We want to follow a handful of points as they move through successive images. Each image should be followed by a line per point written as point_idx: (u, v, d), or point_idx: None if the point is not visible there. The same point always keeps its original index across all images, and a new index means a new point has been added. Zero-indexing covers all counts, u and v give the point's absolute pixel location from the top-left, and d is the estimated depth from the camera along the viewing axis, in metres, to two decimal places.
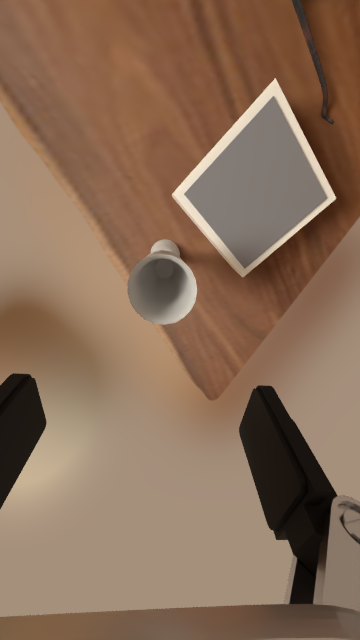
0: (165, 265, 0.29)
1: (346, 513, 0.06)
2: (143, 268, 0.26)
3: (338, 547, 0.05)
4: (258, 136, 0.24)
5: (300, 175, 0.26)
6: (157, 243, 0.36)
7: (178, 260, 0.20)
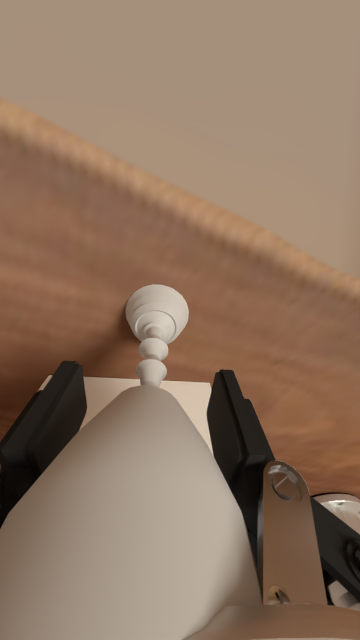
0: None
1: (275, 476, 0.06)
2: None
3: (261, 500, 0.06)
4: None
5: None
6: (184, 323, 0.17)
7: None
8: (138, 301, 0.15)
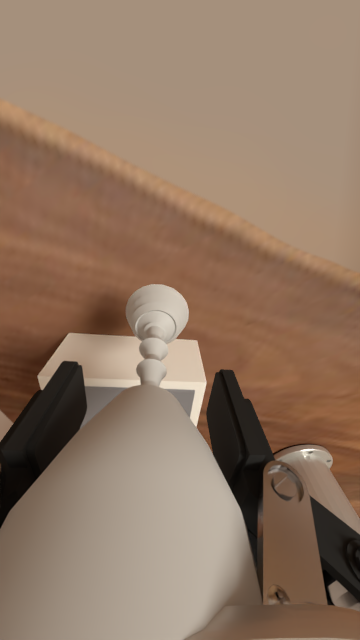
0: None
1: (275, 476, 0.06)
2: None
3: (261, 500, 0.06)
4: None
5: None
6: (184, 323, 0.17)
7: None
8: (138, 301, 0.15)
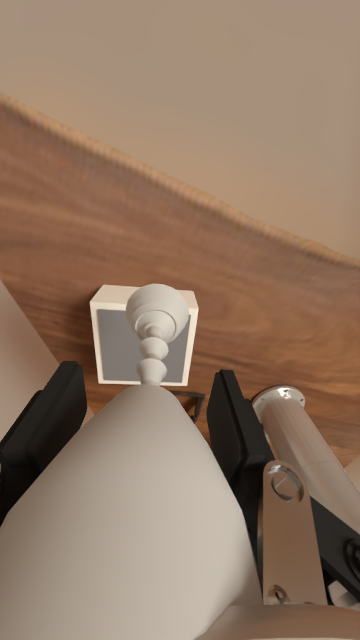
0: None
1: (275, 476, 0.06)
2: None
3: (261, 500, 0.06)
4: (173, 368, 0.35)
5: (132, 374, 0.35)
6: (184, 323, 0.17)
7: None
8: (138, 300, 0.15)
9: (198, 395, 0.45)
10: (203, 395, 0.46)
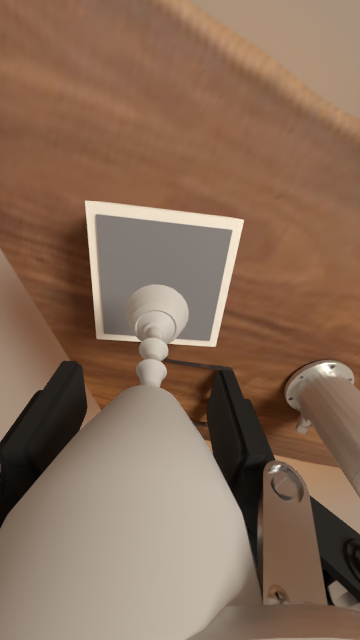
0: None
1: (275, 476, 0.06)
2: None
3: (261, 500, 0.06)
4: (200, 318, 0.25)
5: None
6: (184, 323, 0.17)
7: None
8: (138, 301, 0.15)
9: (223, 368, 0.36)
10: (229, 368, 0.36)
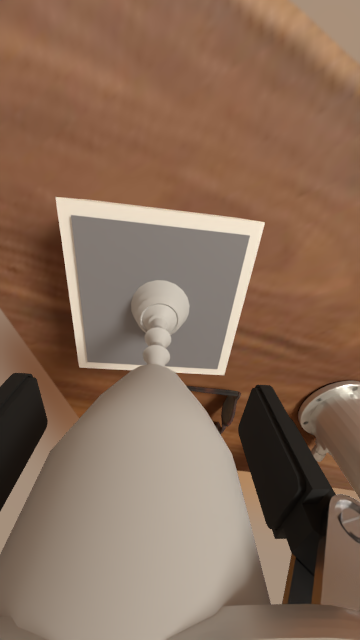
0: None
1: (344, 512, 0.06)
2: None
3: (335, 545, 0.05)
4: (206, 343, 0.21)
5: (135, 353, 0.21)
6: (185, 316, 0.19)
7: None
8: (143, 295, 0.17)
9: (230, 393, 0.31)
10: (237, 393, 0.31)
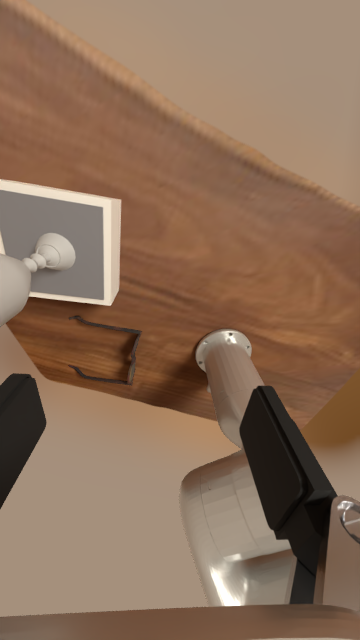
0: None
1: (346, 513, 0.06)
2: (19, 273, 0.19)
3: (338, 547, 0.05)
4: (91, 279, 0.32)
5: (45, 284, 0.32)
6: (72, 258, 0.30)
7: None
8: (39, 240, 0.28)
9: (133, 331, 0.42)
10: (139, 331, 0.43)
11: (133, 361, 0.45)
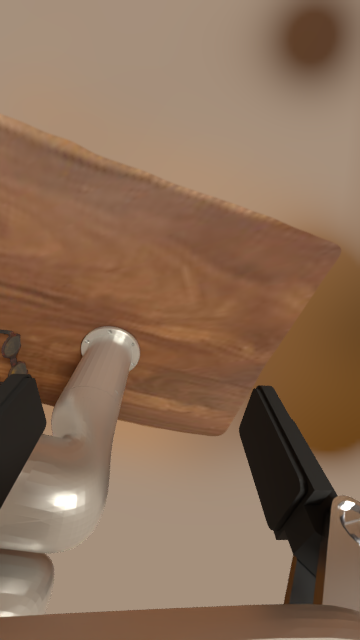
0: None
1: (346, 513, 0.06)
2: None
3: (338, 547, 0.05)
4: None
5: None
6: None
7: None
8: None
9: (3, 331, 0.42)
10: (9, 332, 0.42)
11: (12, 362, 0.45)
